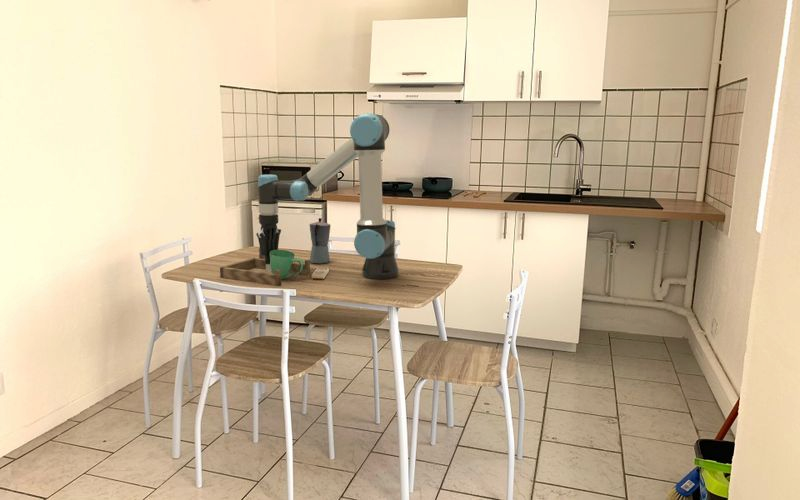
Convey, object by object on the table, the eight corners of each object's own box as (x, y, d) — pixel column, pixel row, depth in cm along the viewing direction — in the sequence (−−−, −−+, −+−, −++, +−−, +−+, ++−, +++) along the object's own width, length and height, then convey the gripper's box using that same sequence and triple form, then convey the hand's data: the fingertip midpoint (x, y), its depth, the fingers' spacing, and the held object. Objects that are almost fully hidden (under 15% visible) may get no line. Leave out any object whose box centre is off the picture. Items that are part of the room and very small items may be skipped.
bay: (316, 272, 249) (315, 248, 247) (278, 285, 226) (277, 259, 224) (260, 264, 261) (260, 241, 259) (220, 277, 239) (219, 251, 237)
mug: (262, 276, 235) (264, 252, 233) (275, 271, 245) (277, 248, 242) (295, 285, 231) (298, 261, 229) (306, 279, 240) (309, 256, 238)
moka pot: (332, 259, 275) (332, 216, 271) (328, 266, 260) (327, 221, 256) (312, 258, 275) (311, 215, 271) (306, 266, 260) (305, 220, 256)
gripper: (271, 211, 243) (272, 267, 248) (250, 215, 232) (251, 273, 236) (286, 212, 240) (287, 269, 245) (265, 216, 228) (267, 276, 233)
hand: (269, 271), depth 240 cm, fingers closed
